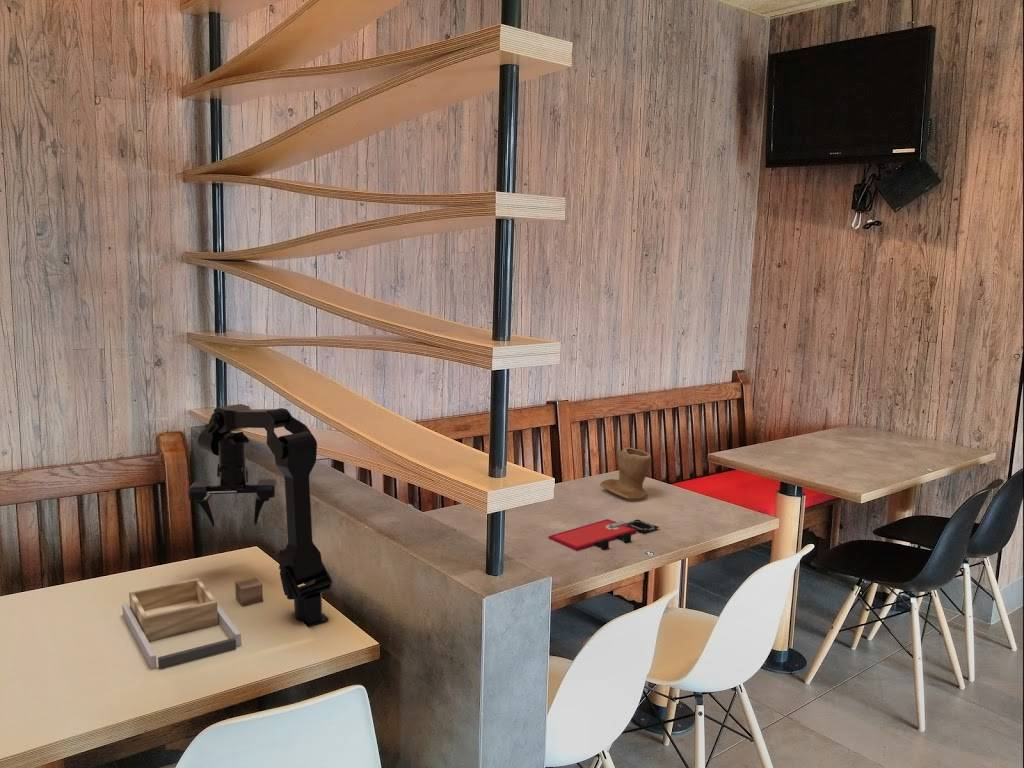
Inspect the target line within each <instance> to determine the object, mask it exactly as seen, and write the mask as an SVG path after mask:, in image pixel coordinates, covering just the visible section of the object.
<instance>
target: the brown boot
mask: <svg viewBox="0 0 1024 768" xmlns="http://www.w3.org/2000/svg"><path fill="white" fill-rule="evenodd" d="M651 465H652V455H651V454H650V453H649V452H647V451H644V450H642V449H637V448H633V447H625V448H623V449H622V450H621V451H620V453H619V457H618V476H619V477H618V479H616V478H609V479H606V480H602V481H601V482H600V483H599V486H600V487H601V488H602V489H605V490H607V491H609V492H611V493H612V494H614V495H617V496H619V497H621V498H623V499H626V500H641V499H644V498H646V497H647V496H648V493H647V492H646V491H645V489H644V488H643V486H644V482H645V479H646V477H647V475H648V473H649V472H650V467H651Z"/></svg>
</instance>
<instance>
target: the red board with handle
mask: <svg viewBox="0 0 1024 768" xmlns="http://www.w3.org/2000/svg"><path fill="white" fill-rule="evenodd" d="M658 528H660V527H659V526H658V525H654V524H651V523H649V522H646V521H644V520H640V519H638V518H637V519H634V520H631V521H627V522H626V521H624V520H623V521H622V520H620V521H618V522H617V521H614V520H612V519H608V518H607V519H603V520H600V521H596V522H592V523H590V524H586V525H582V526H579V527H575V528H572V529H568V530H565V531H562V532H558V533H555V534H552V535H548V539H549V540H551V541H553V542H556V543H558V544H560V545H562V546H565V547H566V548H568V549H570V550H573V551H575V552H578V551H582V550H586V549H589V548H591V547H600V550H602V551H607V550H609V549H610V546H609V545H610V544H609V542H611V541H615V540H623V543H624V544H630V543H631V542H632V535H634V534H636V533H637V531H639V532H642V533H645V532H649V531H652V530H655V529H658Z"/></svg>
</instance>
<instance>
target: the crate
mask: <svg viewBox="0 0 1024 768" xmlns="http://www.w3.org/2000/svg"><path fill="white" fill-rule="evenodd" d="M128 596H129V597H128V598H129V607H130V609H131V611H132V612H133V614H134V616H135V618H136V620H137V622H138V623H139V625H140V627H141V629H142V631H143V632H144V634H145V636H146V638H147V640H148V642H149V643H150V642H153V641H158V640H161V639H166V638H169V637H174V636H177V635H181V634H186V633H190V632H194V631H197V630H202V629H207V628H210V627H214V626H219V623H218V611H217V604H218V601H217V600H216V598H215V597H214V596H213V595H212V594H211V592H210V590H208V588H207V587H206V586H205V585H204V583H203V581H201V580H200V578H199V577H197V578H193V579H192V578H191V579H187V580H184V581H183V580H182V581H179V582H174V583H169V584H165V585H164V584H163V585H159V586H154V587H149V588H146V589H141V590H140V589H139V590H136V591H132V592H128Z"/></svg>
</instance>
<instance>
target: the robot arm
mask: <svg viewBox="0 0 1024 768" xmlns="http://www.w3.org/2000/svg"><path fill="white" fill-rule="evenodd" d="M279 428H284V429H285V430H286V431H288V432H289V433H290V434H284V435H280V436H278V435H277V434H276V432H275V429H279ZM245 429H264V430H265V431H266V445H267V446H268V448H269V450H270V451H271V453H272V454H273V456H274V461H275V466H276V467H277V468H278V470H279V471H280V473H281V474H282V475H283V478H284V491H285V492H284V494H285V508H286V509H285V510H286V529H287V530H286V531H287V544H286V546H285V548H282V549H280V550H279V552H278V559H279V564H278V565H279V566H278V569H279V570H280V571H279V577H280V581H281V586H282V590H283V593H284V596H286V599H287V600H293V612H294V614H293V617H294V619H295V620H296V621H297V622H303V624H304V625H305V626H306V627H311V626H315V625H318V624H322V623H326V622H328V621H329V617H327V615H326V614H325V613H324V612H323V597H322V596H323V593H322V592H325V591H329V590H331V588H332V584H333V580H332V578H331V576H330V573H329V572H328V571H327V568H326V566H325V564H324V562H323V561H322V553H321V551H320V550H319V549H318V547H317V546H316V545H315V543H314V542H313V529H312V528H313V527H312V526H313V524H312V507H311V505H312V504H311V503H312V502H311V489H310V488H311V485H310V474H311V473H312V471H313V469H314V466H315V465H316V463H317V454H318V453H317V451H318V441H317V439H316V437H315V436H314V435H313V433H312V432H311V430H310V429H309V427H308V425H306V424H305V423H303V422H301V420H298V419H297V418H295V417H293V416H292V413H290V411H289V409H286V408H284V407H283V408H282V407H280V408H270V409H269V408H267V409H265V408H261V409H259V408H257V409H253V408H251V407H250V406H249V405H246V404H242V403H238V404H232V405H226V406H225V405H224V406H218V407H215V408H214V409H213V413H212V414H211V416H210V419H209V421H208V423H206V424H204V429H203V430H202V431H201V432H200V434H199V436H198V438H197V445H198V447H199V449H200V450H202V451H203V452H206V453H208V454H211V455H215V456H218V463H217V468H216V471H217V472H216V477H217V478H219V485H212V483H211V481H210V480H206V481H205V480H203V481H202V480H201V481H194V482H193V483H192V484H191V486H190V487H189V488H188V492H187V493H188V500H189V501H194V504H197V505H198V504H199V505H200V507H201V508H202V509H203V511H204V513H205V514H206V515H207V517H208V519H209V522H210V523H211V525H212V527H213V528H214V527H216V514H215V508H214V500H213V499H214V497H213V496H214V495H223V494H224V495H225V494H227V495H228V494H255V493H256V498H255V502H254V503H255V504H254V516H253V521H254V526H257V524H258V523H259V518H260V513H261V512H262V511H261V510H262V508H263V506H264V503H265V502H269V501H270V498H271V499H272V498H276V497H275V496H276V495H277V491H278V483H277V482H278V481H276V479H272V478H271V479H259V480H258V482H257V483H254V484H247V483H248V482H249V477H250V474H249V470H250V468H249V467H248V466H247V465H246V464H247V461H246V444H247V443H248V444H249V442H250V439H249V437H247V436H246V434H244V432H243V431H241V430H245ZM237 431H240V432H237Z"/></svg>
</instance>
